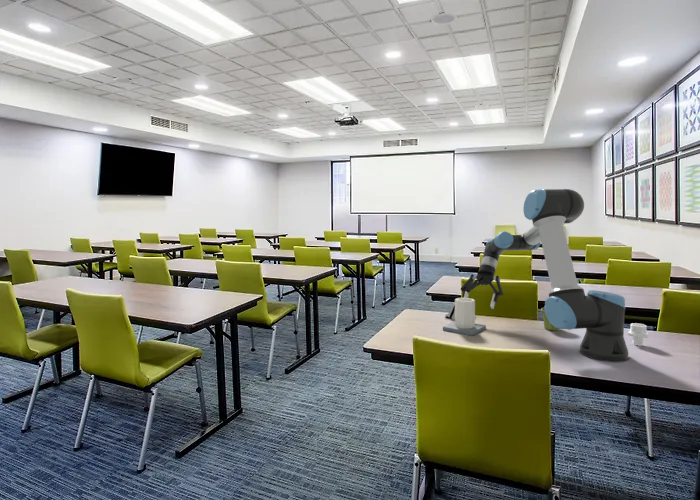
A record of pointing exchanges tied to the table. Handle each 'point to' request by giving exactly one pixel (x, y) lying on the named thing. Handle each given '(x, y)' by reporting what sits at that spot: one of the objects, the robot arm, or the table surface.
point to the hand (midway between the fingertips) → (477, 306)
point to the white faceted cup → (464, 313)
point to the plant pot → (547, 322)
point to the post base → (467, 331)
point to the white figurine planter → (638, 333)
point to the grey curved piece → (451, 312)
